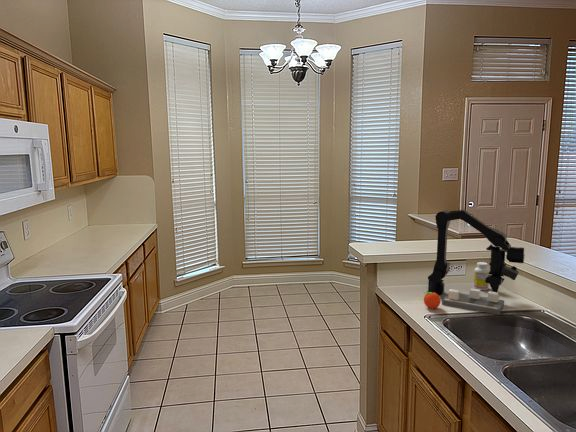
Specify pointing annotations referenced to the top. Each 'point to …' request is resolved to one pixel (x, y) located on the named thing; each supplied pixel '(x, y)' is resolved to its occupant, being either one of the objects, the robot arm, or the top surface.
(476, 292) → the tab middle
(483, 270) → the supplement bottle
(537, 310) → the top surface
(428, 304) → the red tomato
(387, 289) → the top surface
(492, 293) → the tab right
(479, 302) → the switch bank
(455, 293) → the tab left
